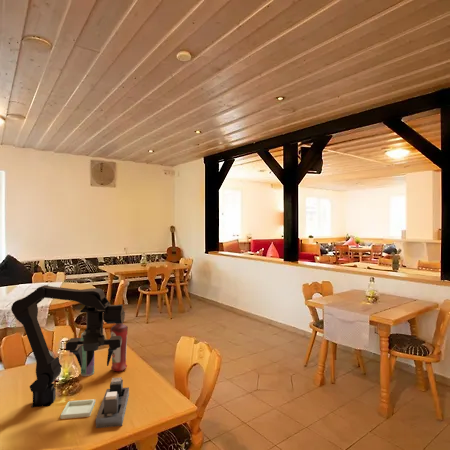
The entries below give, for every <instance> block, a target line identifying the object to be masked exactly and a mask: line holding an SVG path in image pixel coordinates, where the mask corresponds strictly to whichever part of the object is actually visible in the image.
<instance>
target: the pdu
mask: <svg viewBox="0 0 450 450" xmlns="http://www.w3.org/2000/svg"><path fill="white" fill-rule="evenodd" d="M116 391H117V394H119V395H118V413H109V414H104V400H105V397H106V394H107V392H116ZM129 396H130V387H128V386H127V387H124V379H122V377H112V378H111V381H110V384H109V388H106V390H105V393H104V395H103V398H102V401H101V403H100V406H99V409H98V412H97V415H96V417H95V429H101V428H102V429H103V428H115V427H123V424H124V419H125V414H126V409H127V405H128V401H129Z"/></svg>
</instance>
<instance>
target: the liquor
mask: <svg viewBox="0 0 450 450" xmlns="http://www.w3.org/2000/svg"><path fill="white" fill-rule="evenodd" d="M111 336H121V337H122V344H121V347H119V348H117V350H114V351H113V353H112V356H111V361H112V362H111V367H110V369H111V370H112V371H113V372H115V373H120V371H121V372H124V371H125V370H126V368H127V367H128V365H127V348H128V347H127V346H128V345H127V344H128V325H126V324H124V322H123V323H122V324H114V325H112V326H111V327H110V337H111Z"/></svg>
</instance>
